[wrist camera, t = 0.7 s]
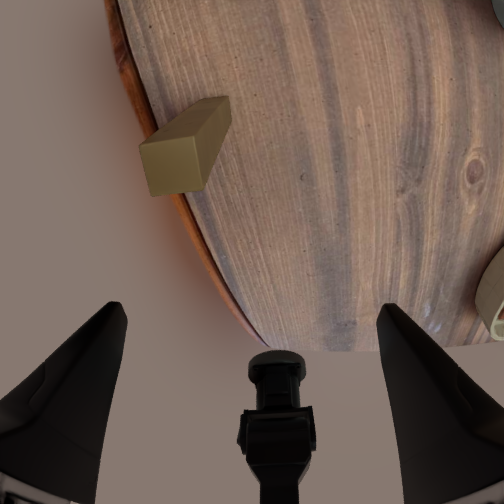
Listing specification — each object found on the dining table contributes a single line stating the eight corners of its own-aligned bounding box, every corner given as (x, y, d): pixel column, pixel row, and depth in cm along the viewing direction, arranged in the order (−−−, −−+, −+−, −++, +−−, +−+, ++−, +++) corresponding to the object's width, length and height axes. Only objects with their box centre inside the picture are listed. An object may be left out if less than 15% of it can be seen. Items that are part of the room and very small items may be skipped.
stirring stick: (232, 121, 18) (203, 191, 9) (204, 125, 18) (150, 197, 9) (228, 95, 17) (194, 135, 8) (200, 99, 17) (137, 145, 8)
